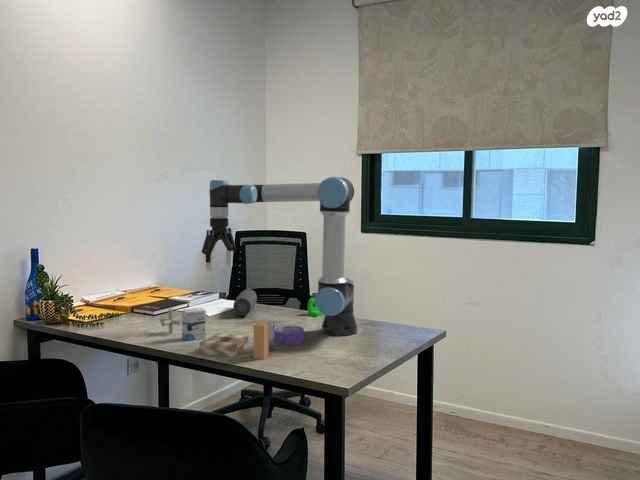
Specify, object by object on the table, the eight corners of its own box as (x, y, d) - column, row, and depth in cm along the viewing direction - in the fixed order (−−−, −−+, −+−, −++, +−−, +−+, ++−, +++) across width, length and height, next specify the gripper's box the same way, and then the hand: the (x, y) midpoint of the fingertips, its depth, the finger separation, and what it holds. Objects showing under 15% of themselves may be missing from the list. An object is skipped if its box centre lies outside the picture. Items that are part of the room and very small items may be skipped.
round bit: (275, 348, 218) (276, 322, 217) (271, 351, 215) (272, 325, 214) (266, 347, 220) (266, 321, 219) (261, 350, 216) (262, 324, 215)
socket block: (248, 346, 221) (248, 336, 221) (232, 356, 208) (232, 345, 207) (217, 343, 225) (217, 333, 224) (199, 353, 212) (199, 342, 211)
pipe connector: (188, 331, 241) (188, 308, 240) (173, 337, 232) (172, 313, 231) (169, 329, 246) (169, 306, 245) (153, 334, 237) (152, 310, 236)
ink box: (185, 341, 227) (184, 311, 226) (182, 338, 232) (181, 309, 230) (206, 338, 231) (206, 309, 230) (202, 335, 235) (202, 307, 234)
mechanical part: (317, 317, 270) (317, 300, 269) (307, 315, 274) (307, 298, 273) (333, 313, 279) (333, 296, 278) (324, 311, 283) (324, 295, 282)
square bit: (268, 355, 209) (268, 323, 208) (264, 359, 205) (264, 326, 204) (258, 354, 210) (258, 322, 209) (253, 358, 206) (253, 325, 205)
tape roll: (292, 347, 221) (292, 334, 220) (267, 342, 227) (267, 330, 226) (309, 340, 231) (309, 327, 230) (285, 336, 237) (285, 324, 236)
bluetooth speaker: (252, 318, 266) (252, 297, 265) (232, 318, 267) (232, 296, 266) (258, 307, 289) (258, 288, 288) (239, 307, 289) (239, 287, 288)
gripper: (229, 215, 251) (229, 263, 254) (192, 218, 229) (193, 271, 231) (243, 216, 248) (244, 265, 250) (207, 219, 226) (208, 272, 228)
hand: (219, 268), depth 241 cm, fingers open, 13 cm apart
